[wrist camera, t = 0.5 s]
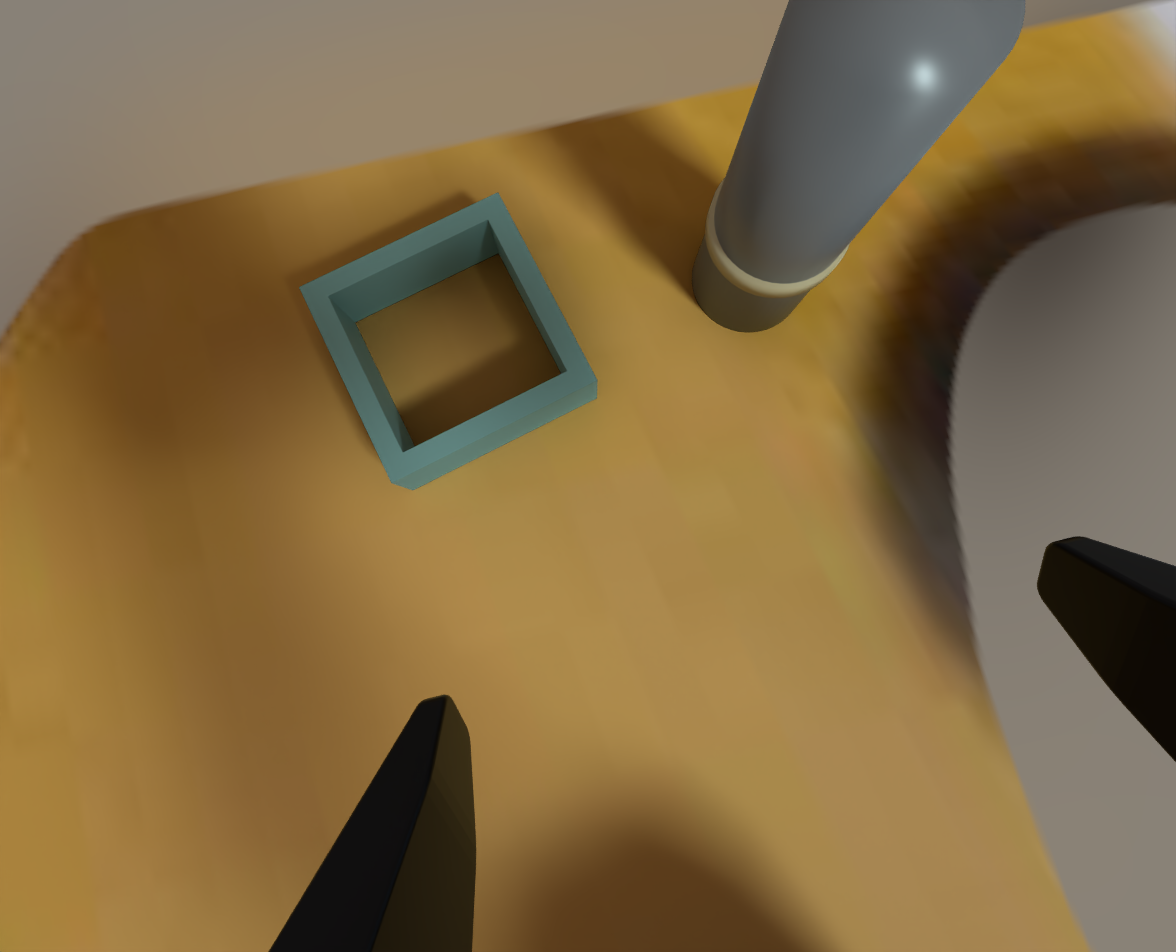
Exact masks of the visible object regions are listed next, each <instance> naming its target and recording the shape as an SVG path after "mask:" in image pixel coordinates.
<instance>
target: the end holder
mask: <svg viewBox="0 0 1176 952" xmlns="http://www.w3.org/2000/svg"><path fill="white" fill-rule="evenodd" d="M498 253H499V255H500V257H501V259H502V261H503V263H504V265H505V266H506V268H507V270H508V272H509V274H510V276H511V278H512V280H513V282H514V284H515V286H516V288H517V289H518V291H519V293H520V295H521V297H522V299H523V301H524V303H525V305H526V307H527V309H528V311H529V312H530V314H531V316H532V318H533V320H534V322H535V324H536V326H537V328H538V330H539V332H540V334H541V335H542V337H543V339H544V341H545V343H546V345H547V347H548V349H549V351H550V353H551V355H552V357H553V358H554V360H555V362H556V364H557V366H558V368H559V370H560V372H561V374H560V375H558V376H556V377H554V378H552V379H550V380H548V381H546V382H544V383H542V384H540V385H538V386H536V387H534V388H532V389H530V390H528V391H526V392H524V393H522V394H520V395H518V396H516V397H514V398H512V399H510V400H508V401H506V402H504V403H502V404H500V405H498V406H496V407H494V408H492V409H490V410H488V411H486V412H484V413H482V414H480V415H478V416H476V417H474V418H472V419H470V420H468V421H466V422H464V423H462V424H460V425H458V426H456V427H454V428H452V429H450V430H448V431H445V432H443V433H441V434H439V435H437V436H435V437H433V438H431V439H429V440H427V441H425V442H423V443H421V444H419V445H417V446H414V444H413V442H412V440H411V437H410V435H409V433H408V431H407V429H406V427H405V425H404V423H403V421H402V419H401V417H400V415H399V413H398V411H397V408H396V406H395V404H394V402H393V400H392V398H391V396H390V394H389V392H388V390H387V388H386V386H385V384H384V381H383V379H382V377H381V375H380V373H379V371H378V369H377V367H376V365H375V363H374V361H373V359H372V357H371V354H370V352H369V350H368V348H367V346H366V344H365V342H364V340H363V338H362V336H361V334H360V332H359V330H358V327H357V325H356V323H355V322H357V321H359V320H361V319H363V318H365V317H367V316H369V315H371V314H373V313H376V312H378V311H380V310H382V309H384V308H386V307H388V306H390V305H392V304H394V303H396V302H398V301H400V300H402V299H405V298H407V297H409V296H411V295H413V294H415V293H417V292H419V291H421V290H423V289H425V288H427V287H429V286H431V285H434V284H436V283H438V282H440V281H442V280H444V279H446V278H448V277H450V276H452V275H454V274H456V273H458V272H460V271H463V270H465V269H467V268H469V267H471V266H473V265H475V264H477V263H479V262H481V261H483V260H485V259H487V258H490V257H492V256H494V255H496V254H498ZM299 288H300V290H301V293H302V295H303V297H304V299H305V301H306V303H307V305H308V307H309V310H310V312H311V314H312V316H313V318H314V320H315V322H316V324H317V326H318V329H319V331H320V333H321V335H322V337H323V339H324V341H325V343H326V345H327V348H328V350H329V352H330V354H331V356H332V358H333V360H334V362H335V364H336V367H337V369H338V371H339V373H340V375H341V377H342V379H343V381H344V384H345V386H346V388H347V390H348V392H349V394H350V396H351V398H352V400H353V403H354V405H355V407H356V409H357V411H358V413H359V415H360V417H361V419H362V422H363V424H364V426H365V428H366V430H367V432H368V434H369V436H370V438H371V441H372V443H373V445H374V447H375V449H376V451H377V453H378V455H379V458H380V460H381V462H382V464H383V466H384V468H385V470H386V472H387V474H388V477H389V479H390V481H391V483H393V484H396V485H399V486H402V487H405V488H408V489H411V490H415V489H417V488H419V487H421V486H423V485H425V484H427V483H429V482H431V481H432V480H434V479H436V478H438V477H440V476H442V475H444V474H446V473H448V472H450V471H452V470H454V469H456V468H458V467H460V466H462V465H464V464H466V463H468V462H470V461H472V460H474V459H476V458H478V457H480V456H482V455H484V454H486V453H488V452H490V451H492V450H494V449H496V448H498V447H500V446H502V445H504V444H506V443H508V442H510V441H512V440H514V439H516V438H518V437H520V436H522V435H524V434H526V433H528V432H530V431H532V430H534V429H536V428H538V427H540V426H542V425H544V424H546V423H548V422H550V421H552V420H554V419H556V418H558V417H560V416H562V415H564V414H566V413H568V412H570V411H572V410H574V409H576V408H578V407H580V406H582V405H584V404H586V403H588V402H590V401H592V400H594V399H596V398H597V379H596V377H595V375H594V373H593V371H592V369H591V367H590V365H589V363H588V362H587V360H586V358H585V356H584V354H583V352H582V350H581V348H580V346H579V345H578V343H577V341H576V339H575V337H574V335H573V333H572V331H571V329H570V328H569V326H568V324H567V322H566V320H565V318H564V316H563V314H562V312H561V311H560V309H559V307H558V305H557V303H556V301H555V299H554V297H553V295H552V294H551V292H550V290H549V288H548V286H547V284H546V282H545V280H544V278H543V277H542V275H541V273H540V271H539V269H538V267H537V265H536V263H535V261H534V260H533V258H532V256H531V254H530V252H529V250H528V248H527V246H526V244H525V243H524V241H523V239H522V237H521V235H520V233H519V231H518V229H517V227H516V226H515V224H514V222H513V220H512V218H511V216H510V214H509V212H508V210H507V209H506V207H505V205H504V203H503V201H502V199H501V197H500V195H499V193H495V194H493V195H491V196H489V197H487V198H485V199H483V200H481V201H479V202H477V203H475V204H472V205H470V206H468V207H466V208H464V209H462V210H460V211H458V212H456V213H454V214H451V215H449V216H447V217H445V218H443V219H441V220H439V221H437V222H435V223H433V224H430V225H428V226H426V227H424V228H422V229H420V230H418V231H416V232H414V233H412V234H409V235H407V236H405V237H403V238H401V239H399V240H397V241H395V242H393V243H391V244H388V245H386V246H384V247H382V248H380V249H378V250H376V251H374V252H372V253H370V254H367V255H365V256H363V257H361V258H359V259H357V260H355V261H353V262H351V263H349V264H346V265H344V266H342V267H340V268H338V269H336V270H334V271H332V272H330V273H328V274H325V275H323V276H321V277H319V278H317V279H315V280H313V281H311V282H309V283H307V284H304V285H302V286H300V287H299Z"/></svg>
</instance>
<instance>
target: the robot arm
mask: <svg viewBox="0 0 1176 952" xmlns="http://www.w3.org/2000/svg"><path fill="white" fill-rule="evenodd" d="M1037 589H1038V592H1039V595H1040V596H1041V599H1042V600H1043V602H1044V603H1045V604H1046V606H1047V607H1048V608H1049V610H1050V611H1051V612H1052V614H1053V615H1054V616H1055V617H1056V619H1057V620H1058V622H1059V623H1060V624H1061V626H1062V627H1063V628H1064V630H1065V631H1066V632H1067V634H1068V635H1069V636H1070V638H1071V639H1072V640H1073V641H1074V643H1075V644H1076V645H1077V647H1078V648H1079V649H1080V651H1081V652H1082V653H1083V655H1084V656H1085V657H1086V659H1087V660H1088V661H1089V663H1090V664H1091V665H1092V667H1093V668H1094V669H1095V670H1096V672H1097V673H1098V675H1099V676H1100V677H1101V678H1102V680H1103V681H1104V682H1105V683H1106V685H1107V686H1108V687H1109V688H1110V690H1111V691H1112V692H1113V693H1114V694H1115V696H1116V697H1117V698H1118V699H1119V700H1120V701H1121V702H1122V704H1123V705H1124V706H1125V707H1126V708H1127V709H1128V710H1129V711H1130V712H1131V714H1132V715H1133V716H1134V717H1135V718H1136V719H1137V720H1138V721H1139V722H1140V723H1141V724H1142V725H1143V727H1144V728H1145V729H1146V730H1147V731H1148V732H1149V733H1150V734H1151V735H1152V737H1153V738H1154V739H1155V740H1156V741H1157V742H1158V743H1159V744H1160V745H1161V746H1162V748H1163V749H1164V750H1165V751H1166V752H1167V753H1168V754H1169V755H1170V756H1171V757H1172V759H1173V760H1174V761H1175V762H1176V566H1174V565H1170V564H1167V563H1164V562H1161V561H1158V560H1155V559H1152V558H1149V557H1145V556H1142V555H1139V554H1136V553H1133V552H1130V551H1127V550H1124V549H1120V548H1117V547H1114V546H1111V545H1108V544H1105V543H1102V542H1099V541H1095V540H1092V539H1089V538H1086V537H1080V536H1079V537H1071V538H1067V539H1063V540H1059V541H1055V542H1052V543H1050V544H1049V545H1048V546H1047V547H1046V549H1045V553H1044V556H1043V560H1042V565H1041V569H1040V573H1039V577H1038V581H1037ZM475 875H476V831H475V814H474V796H473V779H472V762H471V745H470V737H469V732H468V729H467V726H466V724H465V723H464V721H463V719H462V717H461V715H460V713H459V711H458V709H457V707H456V705H455V703H454V702H453V700H452V698H451V697H450V696H449V695H440V696H436V697H432V698H428V699H425V700H423V701H421V702H420V703H419V704H418V706H417V707H416V709H415V710H414V712H413V714H412V715H411V717H410V719H409V720H408V722H407V724H406V725H405V727H404V729H403V730H402V732H401V734H400V735H399V737H398V738H397V740H396V742H395V743H394V745H393V747H392V748H391V750H390V752H389V753H388V755H387V757H386V758H385V760H384V762H383V763H382V765H381V767H380V768H379V770H378V772H377V773H376V775H375V777H374V778H373V780H372V782H371V783H370V785H369V786H368V788H367V790H366V791H365V793H364V795H363V796H362V798H361V800H360V801H359V803H358V805H357V806H356V808H355V810H354V811H353V813H352V815H351V816H350V818H349V820H348V821H347V823H346V825H345V826H344V828H343V829H342V831H341V833H340V834H339V836H338V838H337V839H336V841H335V843H334V844H333V846H332V848H331V849H330V851H329V853H328V854H327V856H326V858H325V859H324V861H323V863H322V864H321V866H320V868H319V869H318V871H317V872H316V874H315V876H314V877H313V879H312V881H311V882H310V884H309V886H308V887H307V889H306V891H305V892H304V894H303V896H302V897H301V899H300V901H299V902H298V904H297V906H296V907H295V909H294V911H293V912H292V914H291V915H290V917H289V919H288V920H287V922H286V924H285V925H284V927H283V929H282V930H281V932H280V934H279V935H278V937H277V939H276V940H275V942H274V944H273V945H272V947H271V949H270V950H269V952H472V939H473V918H474V897H475Z"/></svg>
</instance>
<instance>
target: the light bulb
mask: <svg viewBox="0 0 1176 952" xmlns="http://www.w3.org/2000/svg"><path fill="white" fill-rule="evenodd" d="M1024 15H1025V0H789V2H788V5H787V8H786V10H785V13H784V16H783V19H782V21H781V24H780V27H779V30H778V33H777V35H776V38H775V41H774V44H773V46H772V49H771V52H770V55H769V57H768V60H767V63H766V66H765V69H764V71H763V74H762V77H761V80H760V82H759V85H758V88H757V91H756V94H755V96H754V99H753V102H752V105H751V107H750V110H749V113H748V116H747V118H746V121H745V124H744V127H743V130H742V132H741V135H740V138H739V141H738V143H737V146H736V149H735V152H734V154H733V157H732V160H731V163H730V166H729V168H728V171H727V174H726V177H725V178H724V179H723V181H722V182H721V183H720V185H719V187H718V188H717V190H716V192H715V195H714V197H713V200H712V202H711V205H710V208H709V211H708V214H707V218H706V225H705V235H704V238H703V240H702V243H701V246H700V249H699V251H698V254H697V257H696V260H695V263H694V266H693V270H692V286H693V291H694V294H695V297H696V300H697V302H698V304H699V305H700V307H701V308H702V310H703V311H704V312H705V313H706V314H707V315H708V316H709V317H710V318H711V319H712V320H713V321H715V322H716V323H718V324H719V325H721V326H723V327H725V328H728V329H731V330H734V331H738V332H758V331H763V330H766V329H769V328H771V327H774V326H775V325H777V324H779V323H780V322H782V321H783V320H784V319H785V318H786V317H787V316H788V315H789V314H790V313H791V312H792V311H793V310H794V309H795V307H796V306H797V305H798V304H799V303H800V301H801V300H802V299H803V298H804V297H805V296H806V294H807V293H808V292H809V291H810V290H811V289H812V288H814V287H816V286H817V285H818V284H820V283H821V282H822V281H823V280H824V279H825V278H826V277H827V276H828V275H829V274H830V273H831V272H832V270H833V269H834V268H835V267H836V266H837V265H838V263H839V262H840V261H841V259H842V258H843V257H844V255H845V253H846V251H847V249H848V246H849V244H850V242H851V241H852V240H853V239H854V238H855V236H856V235H857V234H858V233H859V232H860V230H861V229H862V228H863V227H864V226H865V224H866V223H867V222H868V221H869V220H870V219H871V217H872V216H873V215H874V214H875V213H876V211H877V210H878V209H879V208H880V207H881V206H882V204H883V203H884V202H885V201H886V200H887V198H888V197H889V196H890V195H891V194H892V193H893V191H894V190H895V189H896V188H897V187H898V185H899V184H900V183H901V182H902V181H903V179H904V178H905V177H906V176H907V175H908V174H909V172H910V171H911V170H912V169H913V168H914V166H915V165H916V164H917V163H918V162H919V161H920V159H921V158H922V157H923V156H924V155H925V153H926V152H927V151H928V150H929V149H930V148H931V146H932V145H933V144H934V143H935V142H936V140H937V139H938V138H939V137H940V136H941V135H942V133H943V132H944V131H945V130H946V129H947V127H948V126H949V125H950V124H951V123H952V121H953V120H954V119H955V118H956V117H957V116H958V114H959V113H960V112H961V111H962V110H963V108H964V107H965V106H966V105H967V104H968V103H969V101H970V100H971V99H972V98H973V97H974V95H975V94H976V93H977V92H978V91H979V90H980V88H981V87H982V86H983V85H984V84H985V82H986V81H987V80H988V79H989V78H990V77H991V75H992V74H993V73H994V72H995V71H996V69H997V68H998V67H999V66H1000V65H1001V63H1002V62H1003V61H1004V60H1005V59H1006V57H1007V56H1008V54H1009V53H1010V52H1011V50H1012V49H1013V47H1014V45H1015V43H1016V41H1017V39H1018V37H1019V34H1020V31H1021V28H1022V25H1023V20H1024Z"/></svg>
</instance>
